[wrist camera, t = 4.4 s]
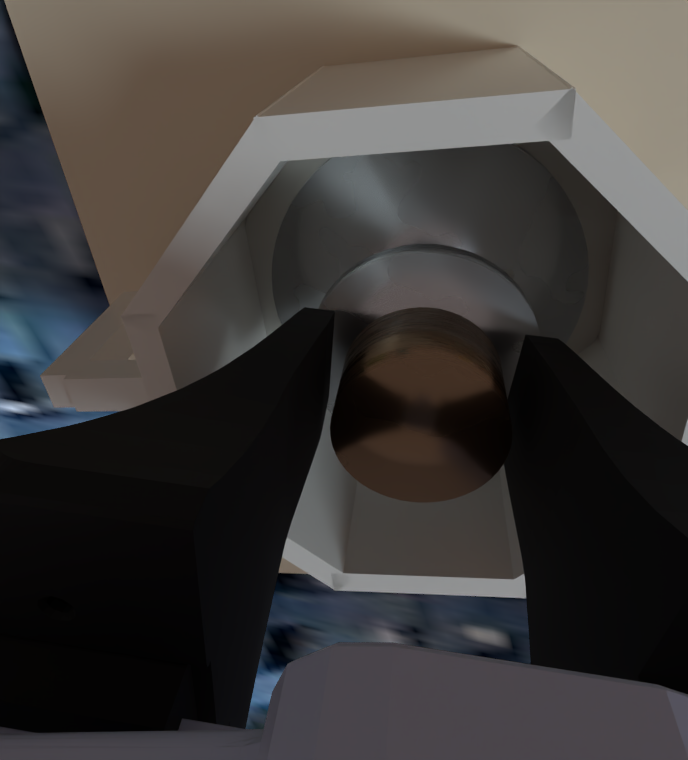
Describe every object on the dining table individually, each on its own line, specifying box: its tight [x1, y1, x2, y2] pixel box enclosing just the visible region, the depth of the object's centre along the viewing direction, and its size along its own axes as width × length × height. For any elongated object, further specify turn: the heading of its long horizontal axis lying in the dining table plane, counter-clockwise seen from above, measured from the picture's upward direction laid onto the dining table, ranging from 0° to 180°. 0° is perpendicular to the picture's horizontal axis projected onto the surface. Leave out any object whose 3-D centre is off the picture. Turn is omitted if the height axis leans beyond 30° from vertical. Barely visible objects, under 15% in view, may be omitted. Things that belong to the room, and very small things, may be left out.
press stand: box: [4, 0, 688, 599], centre depth 13 cm, size 24×18×7 cm
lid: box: [271, 143, 589, 503], centre depth 12 cm, size 8×8×6 cm
